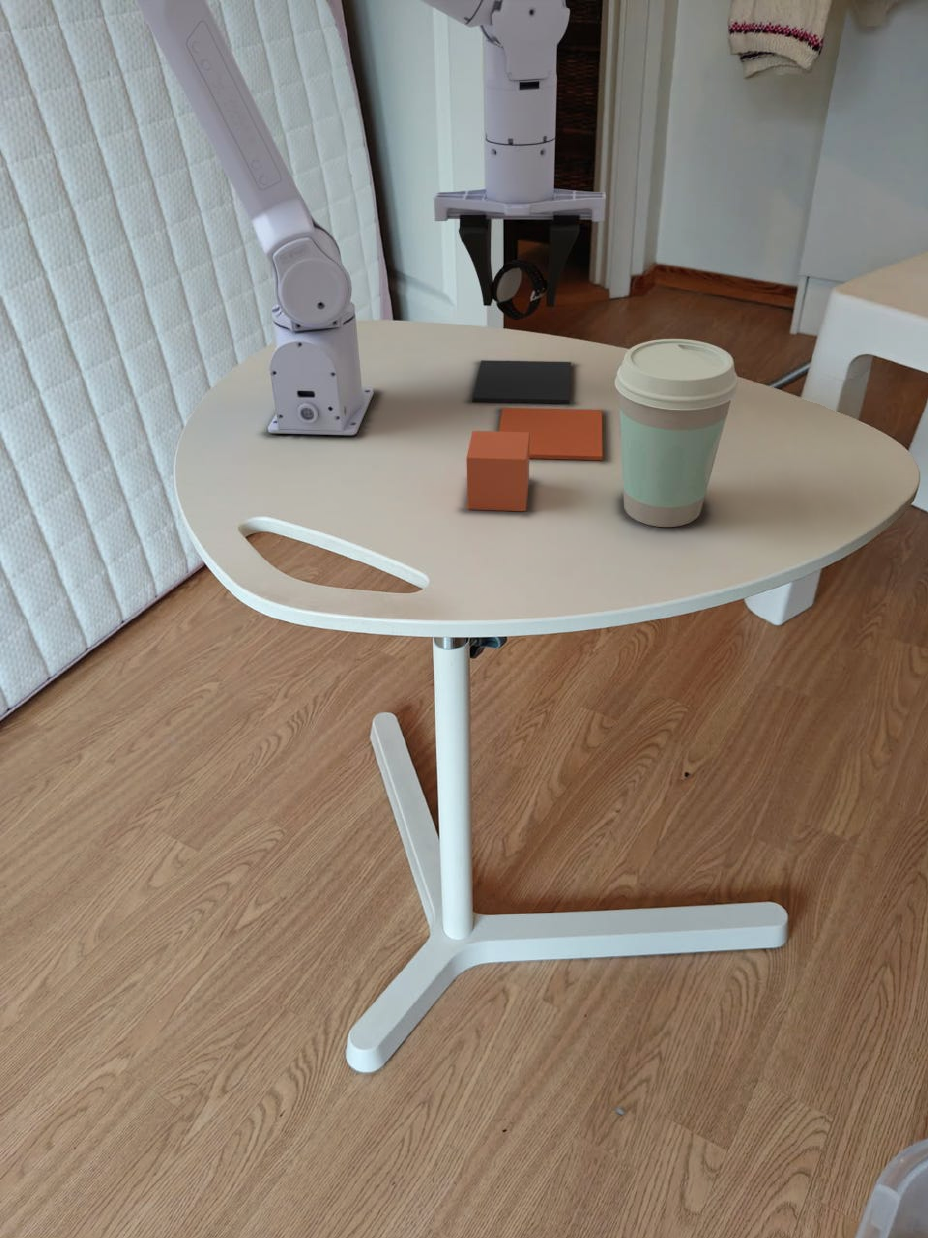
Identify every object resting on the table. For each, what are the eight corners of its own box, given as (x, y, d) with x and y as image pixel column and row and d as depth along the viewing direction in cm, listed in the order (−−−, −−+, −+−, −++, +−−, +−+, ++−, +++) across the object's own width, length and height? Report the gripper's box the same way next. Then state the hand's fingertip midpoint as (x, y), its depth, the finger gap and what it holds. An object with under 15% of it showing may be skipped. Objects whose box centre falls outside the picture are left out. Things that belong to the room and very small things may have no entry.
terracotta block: (525, 511, 75) (526, 459, 73) (467, 509, 76) (466, 457, 73) (528, 482, 79) (529, 431, 76) (473, 481, 79) (472, 430, 77)
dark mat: (569, 403, 91) (569, 399, 90) (472, 401, 92) (472, 397, 91) (570, 365, 98) (571, 361, 98) (481, 363, 99) (481, 360, 98)
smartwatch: (523, 306, 92) (523, 251, 89) (550, 323, 88) (552, 266, 85) (484, 313, 91) (483, 258, 88) (510, 331, 87) (510, 274, 84)
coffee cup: (724, 539, 71) (749, 384, 64) (606, 535, 72) (618, 381, 65) (713, 482, 78) (734, 336, 71) (605, 479, 79) (615, 334, 72)
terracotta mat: (602, 460, 82) (602, 456, 81) (494, 457, 82) (494, 453, 82) (601, 413, 89) (602, 409, 89) (502, 411, 90) (502, 407, 89)
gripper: (426, 149, 78) (433, 316, 86) (609, 148, 77) (599, 319, 85) (437, 131, 84) (443, 290, 92) (608, 130, 82) (599, 291, 90)
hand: (518, 302), depth 89 cm, fingers closed on smartwatch, 5 cm apart
